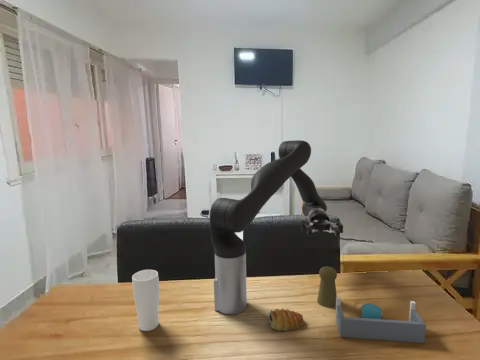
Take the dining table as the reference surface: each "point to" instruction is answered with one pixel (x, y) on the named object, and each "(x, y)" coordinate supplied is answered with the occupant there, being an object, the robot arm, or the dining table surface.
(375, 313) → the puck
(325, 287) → the cork
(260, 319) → the dining table surface
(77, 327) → the dining table surface
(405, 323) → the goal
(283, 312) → the pastry
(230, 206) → the robot arm
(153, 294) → the drinking glass
